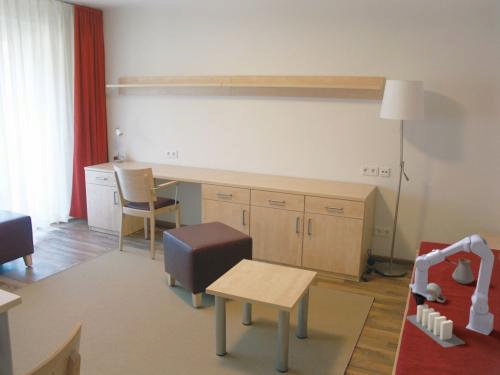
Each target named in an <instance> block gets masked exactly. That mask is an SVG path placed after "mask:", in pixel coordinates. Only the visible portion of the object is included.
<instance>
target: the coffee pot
mask: <svg viewBox="0 0 500 375" xmlns="http://www.w3.org/2000/svg"><path fill="white" fill-rule="evenodd" d="M444 261H446V262H449V263H452V265H456V268H455V270H454V271H453V273H452V278H453V280H454V281H455V282H456V283H457V284H460V285H469V284H471V283H473V282H474V280H475V276H474V273H473V271H472V268H471V265H470V263H471V262H472V261H471V260H470V259H467V258H458V263H456V262H454V261H452V260H450V259H449V258H446V257H445V259H444Z"/></svg>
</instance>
